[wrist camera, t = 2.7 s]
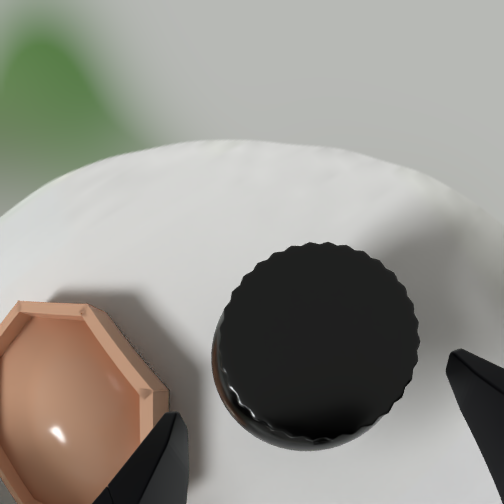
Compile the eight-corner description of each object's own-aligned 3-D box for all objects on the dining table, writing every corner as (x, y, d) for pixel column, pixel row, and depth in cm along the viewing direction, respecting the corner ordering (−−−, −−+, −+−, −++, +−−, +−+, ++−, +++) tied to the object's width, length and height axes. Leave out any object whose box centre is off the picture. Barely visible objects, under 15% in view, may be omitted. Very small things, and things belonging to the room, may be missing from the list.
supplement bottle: (380, 358, 17) (499, 317, 6) (303, 445, 16) (328, 536, 5) (296, 287, 20) (305, 162, 9) (218, 368, 18) (119, 345, 7)
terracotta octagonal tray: (225, 447, 16) (216, 456, 14) (80, 551, 13) (62, 560, 10) (76, 266, 22) (57, 254, 20) (-23, 390, 18) (-43, 387, 16)
